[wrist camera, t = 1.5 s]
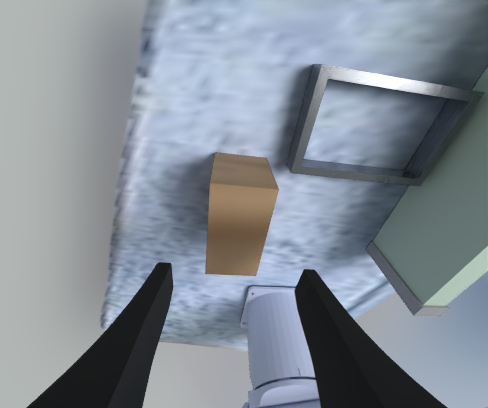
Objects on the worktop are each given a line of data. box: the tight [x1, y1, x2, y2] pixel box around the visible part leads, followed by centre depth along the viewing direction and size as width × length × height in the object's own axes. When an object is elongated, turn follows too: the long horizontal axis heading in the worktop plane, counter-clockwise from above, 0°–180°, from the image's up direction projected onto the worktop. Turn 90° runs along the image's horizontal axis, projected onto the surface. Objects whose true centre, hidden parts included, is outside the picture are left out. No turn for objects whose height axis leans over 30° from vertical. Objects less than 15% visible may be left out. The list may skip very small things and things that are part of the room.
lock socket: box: [286, 64, 485, 186], centre depth 15 cm, size 7×11×2 cm, turn 82°
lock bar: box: [205, 152, 279, 276], centre depth 16 cm, size 8×4×5 cm, turn 172°
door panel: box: [366, 66, 488, 316], centre depth 14 cm, size 22×2×7 cm, turn 172°
